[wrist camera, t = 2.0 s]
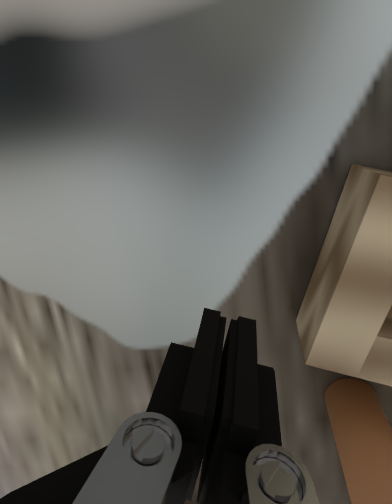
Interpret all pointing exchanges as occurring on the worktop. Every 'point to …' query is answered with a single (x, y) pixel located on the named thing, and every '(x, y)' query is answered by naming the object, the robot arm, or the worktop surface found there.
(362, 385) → the dowel
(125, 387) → the worktop surface
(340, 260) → the beige square ring
